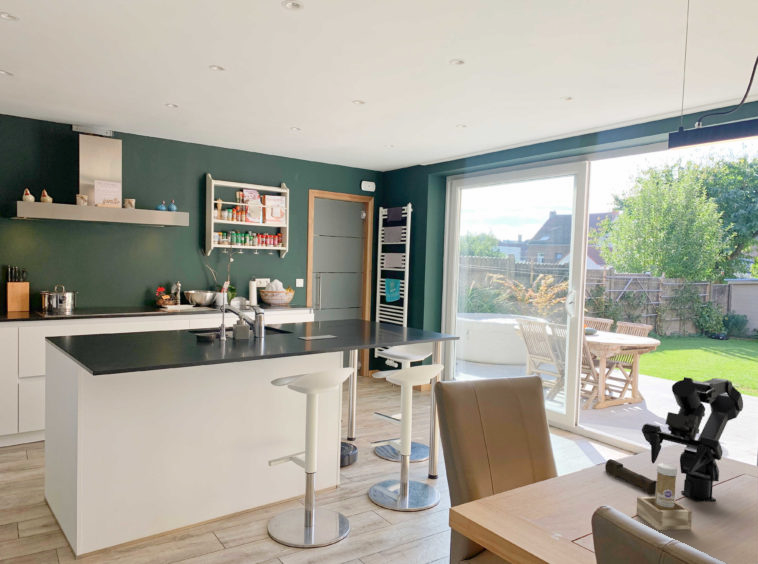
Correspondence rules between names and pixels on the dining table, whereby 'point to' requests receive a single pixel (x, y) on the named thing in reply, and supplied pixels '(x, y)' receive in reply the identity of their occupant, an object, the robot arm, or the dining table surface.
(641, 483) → the hand tool
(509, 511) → the dining table surface
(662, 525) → the beech holder
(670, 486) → the sprinkles bottle
